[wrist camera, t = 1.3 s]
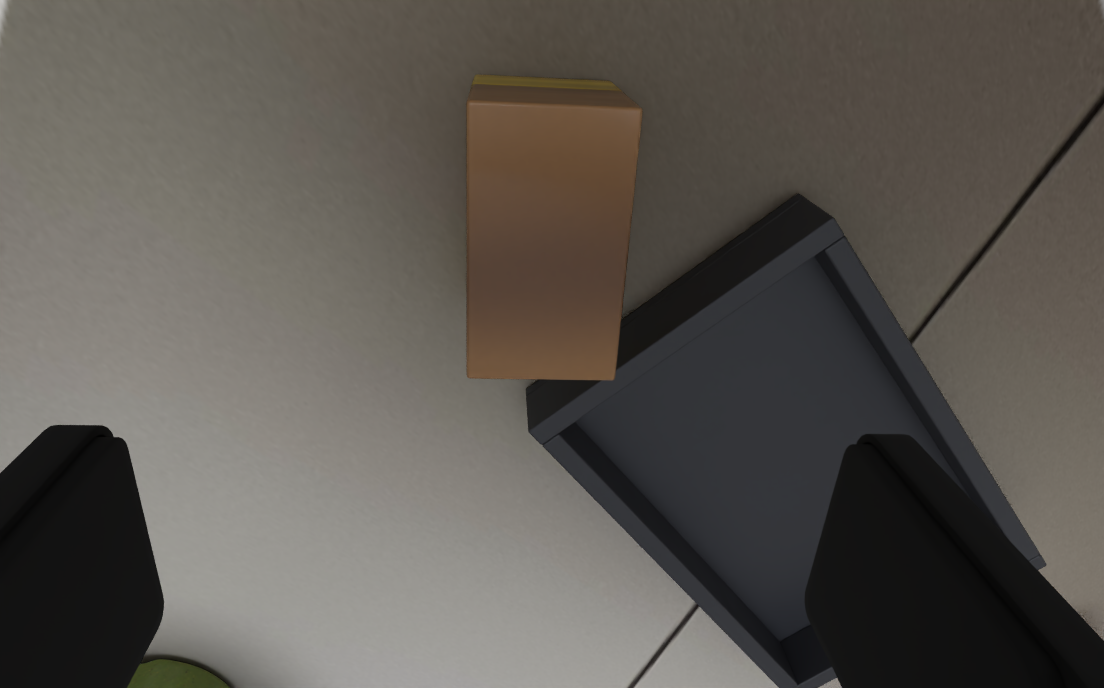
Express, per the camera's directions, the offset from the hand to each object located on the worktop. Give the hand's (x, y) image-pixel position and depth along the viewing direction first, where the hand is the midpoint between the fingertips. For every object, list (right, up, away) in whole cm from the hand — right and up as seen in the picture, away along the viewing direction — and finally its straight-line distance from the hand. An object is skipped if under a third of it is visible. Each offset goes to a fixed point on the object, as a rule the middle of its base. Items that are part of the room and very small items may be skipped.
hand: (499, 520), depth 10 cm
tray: (+11, -3, +21) cm, 24 cm away
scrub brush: (0, +7, +16) cm, 17 cm away
